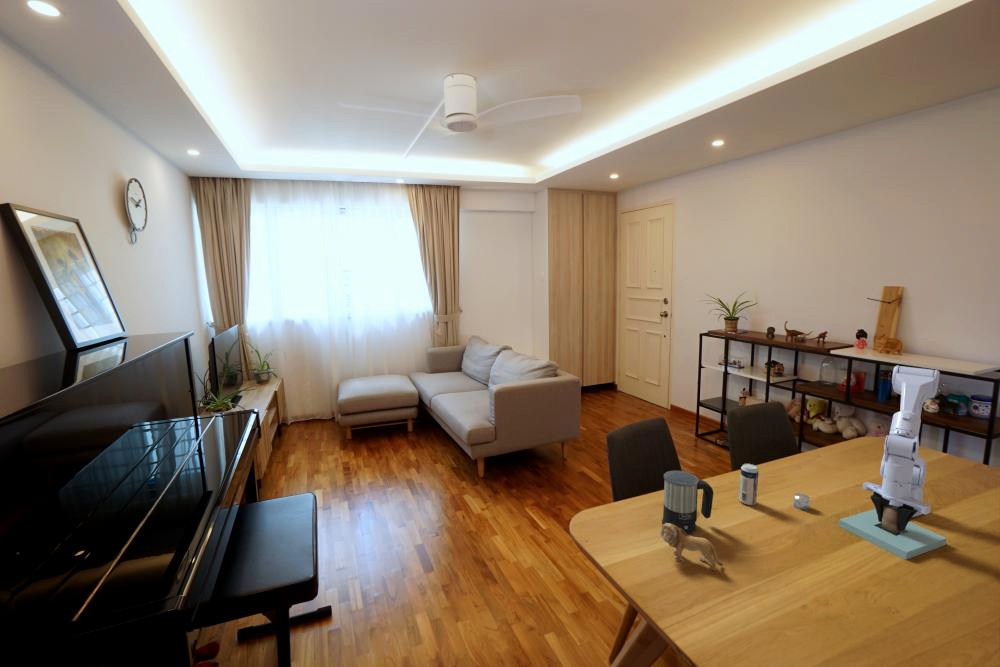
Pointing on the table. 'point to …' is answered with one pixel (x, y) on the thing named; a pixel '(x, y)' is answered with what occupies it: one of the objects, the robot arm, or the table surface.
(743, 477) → the beer can
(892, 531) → the walnut pin
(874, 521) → the hole board
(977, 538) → the table surface
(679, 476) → the milk frother
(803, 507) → the grey round piece
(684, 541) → the lion figurine
